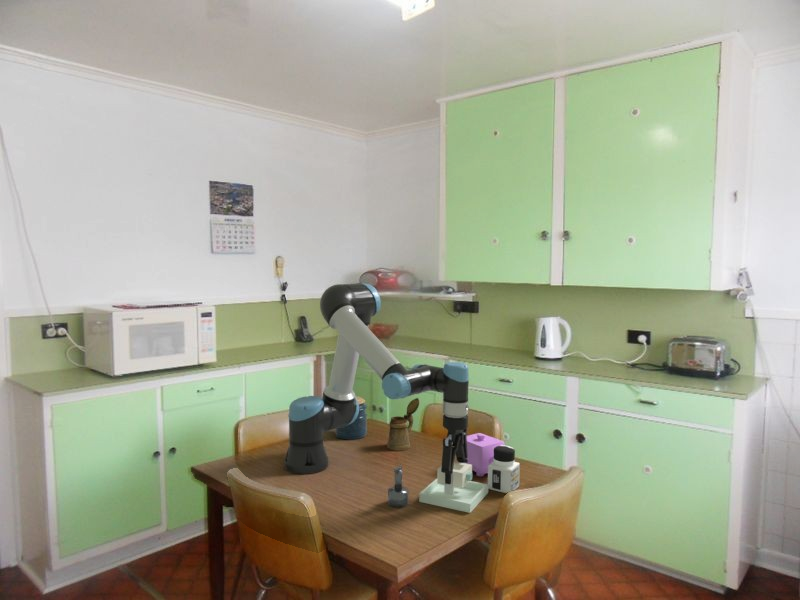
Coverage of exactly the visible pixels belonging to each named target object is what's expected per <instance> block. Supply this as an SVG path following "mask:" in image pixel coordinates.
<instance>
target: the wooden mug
mask: <svg viewBox="0 0 800 600" xmlns="http://www.w3.org/2000/svg"><path fill="white" fill-rule="evenodd" d="M419 405H420V399H419V398H418V397H416V398H414V399H412V400H411V401H410V402H409V403H408V405H407V407H406V414H404V415H403V416H392V417H391V418H390V421H389V424H388V425H389V431H388V432H389V434H388V440H387V442H386V448H387V449H388V450H391V451H397V452H401V451H406V450H409V449H410V448H411V442H410V438H409V437H410V433H411V430H412V428H413V424H414V418H413V414H415V413H416V412H417V411H418V408H419Z"/></svg>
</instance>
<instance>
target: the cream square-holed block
mask: <svg viewBox="0 0 800 600" xmlns="http://www.w3.org/2000/svg"><path fill="white" fill-rule="evenodd" d="M441 467H442V464H441V465H440V466H439V467H437V471H436V472H437V473H436V474H437V476H436V477H437V478H436V479H437V483H439V484H444V480H445V473H443V472H441ZM453 472H454V487H459V488H463V487H464V486H465V485H466V484H467V483H468V482H469V481H472V480H473V470H472V465H471V464H466V463H460V462H458V461H455V460H454V467H453Z"/></svg>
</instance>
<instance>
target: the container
mask: <svg viewBox="0 0 800 600" xmlns="http://www.w3.org/2000/svg"><path fill="white" fill-rule="evenodd" d="M515 458H516V450H515V449H514V447H512V446H509V445H505V444H504V445H501V446H497V447H495V448H494V461H493V462H492V463H491V464H489V465H488V473H487V484H488V490H491V491H496V492H499V493H504V494H507V492H509V491H512V490H514V491H515V490H517V489H518V487H519V486H520V473H521V472H520V468H521V467H520V465H521V464H520V463H521V462H517V461H515V460H516V459H515Z"/></svg>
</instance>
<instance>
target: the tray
mask: <svg viewBox="0 0 800 600" xmlns="http://www.w3.org/2000/svg"><path fill="white" fill-rule="evenodd" d="M488 494H489V489H488V483H484V482H483V483H482V482H478V481H472V480H471V481H469V482H468V483H467V484H466V485H465V486H464V487H463V488H459V487H454V494H453V495H451V494H446V493H444V484H439V483H437V478H435V479H434V480H433V481H432V482H431V483H429V484H428V485H427V486H426V487H425V488H423V489H422V490H421V491H420V492H419V493H418V495H419V497H418V498H419V500H418V501H419V503H422V504H423V503H424V504H428V505H433V506H436V507H437V506H438V507H442V508H447V509H451V510H455V511H460V512H465V513H469V514H470V513H472V511H473V510H474V509H475V508H476V507H477V506H478V505H479V504H480V503H481V502H482V500H483V499H484V498H485V497H486V496H487V495H488Z"/></svg>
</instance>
